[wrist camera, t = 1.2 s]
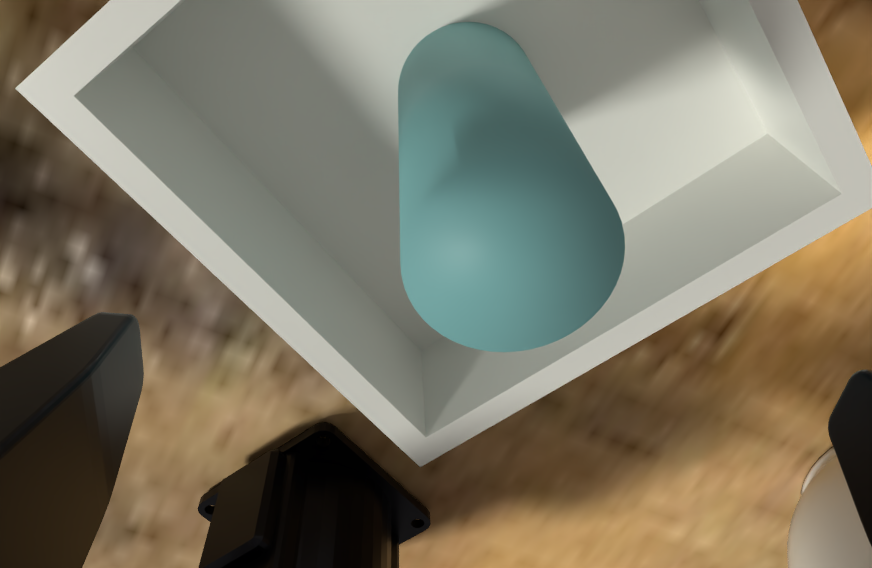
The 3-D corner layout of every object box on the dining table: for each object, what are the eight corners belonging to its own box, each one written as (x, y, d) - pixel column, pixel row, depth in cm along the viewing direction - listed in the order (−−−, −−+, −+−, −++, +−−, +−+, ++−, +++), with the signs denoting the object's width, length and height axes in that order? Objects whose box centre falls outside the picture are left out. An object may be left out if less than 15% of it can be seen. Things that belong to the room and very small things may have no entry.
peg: (560, 105, 20) (664, 278, 12) (450, 181, 21) (483, 385, 13) (483, -9, 18) (549, 107, 11) (370, 79, 19) (353, 244, 12)
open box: (789, 126, 22) (886, 199, 17) (416, 359, 25) (420, 467, 21) (540, -374, 15) (596, -450, 11) (98, 31, 19) (15, 88, 15)
